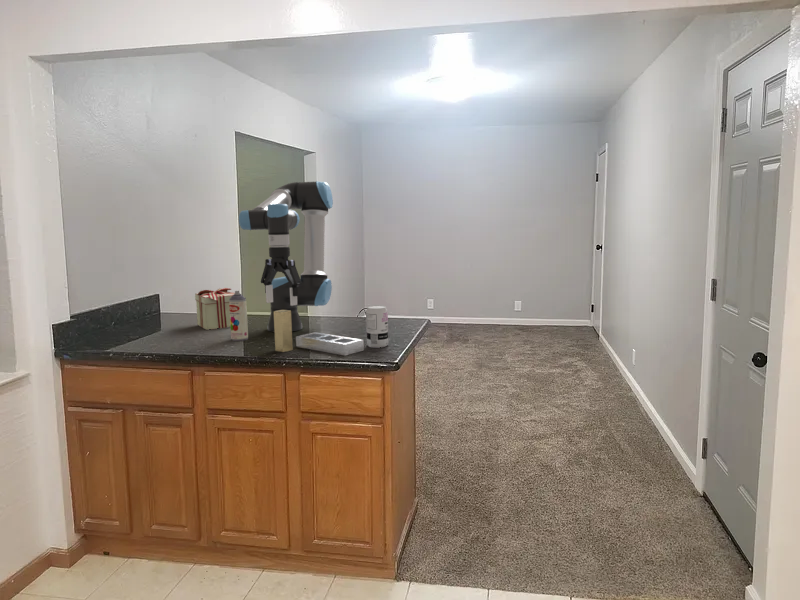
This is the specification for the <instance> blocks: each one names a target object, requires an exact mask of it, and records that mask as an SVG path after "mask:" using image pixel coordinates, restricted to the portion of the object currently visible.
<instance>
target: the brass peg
mask: <svg viewBox="0 0 800 600" xmlns="http://www.w3.org/2000/svg"><path fill="white" fill-rule="evenodd" d="M274 330H275V332H274V344H275V345H274V346H275V347H274V349H275V352H280V353H286V352H289V351H293V350H294V349H293V347H294V346H293V331H292V324H291V311H290V310H278V311H274Z"/></svg>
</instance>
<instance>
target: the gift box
mask: <svg viewBox="0 0 800 600" xmlns="http://www.w3.org/2000/svg"><path fill="white" fill-rule="evenodd" d="M231 290H232V288H231V287H230V288H228V287H224V288H217V289H216V290H211V289H203V290H200V291H198V293H195V294H194V298H195V299H194V300H195V302H196V303H195V304H196V318H197V319H196V320H197V322H196V323H197V326H199V327H200V328H203V329H204V330H206V331H209V329H211V330H218V329H217V328H220V329H228V328H227V327H229V328H231V327H230V310H229V299H230V298H231V297H232V296H233V295H234V294H235V292H233V291H232V292H230V291H231Z"/></svg>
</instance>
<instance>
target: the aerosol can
mask: <svg viewBox="0 0 800 600" xmlns="http://www.w3.org/2000/svg"><path fill="white" fill-rule="evenodd" d="M234 293H235V294H234V295H233V296H232V297H231V298H230V299H229V310H230V327H229V328H230V337H231V338H230V340H231V341H232V340H233V342H243V341H247V340H249V330H248V327H249V326H248V310H247V309H248V308H247V299H246V297H245V296H244V295H243V294H241V293H240V290H234Z"/></svg>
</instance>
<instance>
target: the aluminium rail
mask: <svg viewBox="0 0 800 600" xmlns="http://www.w3.org/2000/svg"><path fill="white" fill-rule="evenodd" d="M295 344H296V345H295V347H296V348H302V349H307V350H312V351H319V352H323V353H330V354H335V355H341V356H348V355H352V354H356V353H360V352H362V351H363V352H364V350H365V347H364V346H365V345H364V344H365V343H364V339H360V338H355V337H354V338H353V337H348V336H341V335H335V334H329V333H323V332H317V331H314V332H310V333H305V334H304V333H303V334H300V335H296V336H295Z"/></svg>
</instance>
